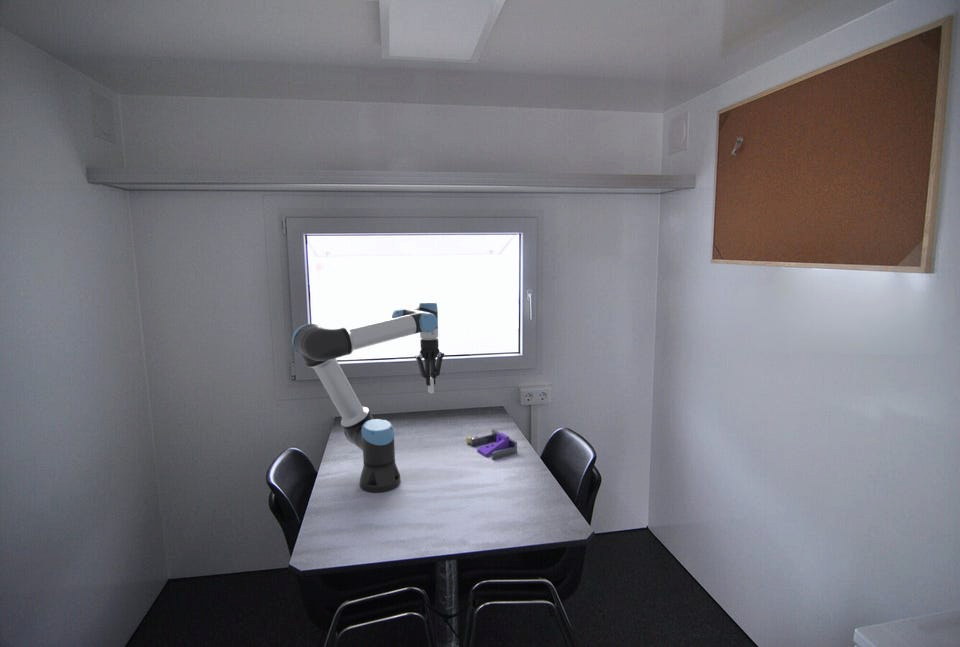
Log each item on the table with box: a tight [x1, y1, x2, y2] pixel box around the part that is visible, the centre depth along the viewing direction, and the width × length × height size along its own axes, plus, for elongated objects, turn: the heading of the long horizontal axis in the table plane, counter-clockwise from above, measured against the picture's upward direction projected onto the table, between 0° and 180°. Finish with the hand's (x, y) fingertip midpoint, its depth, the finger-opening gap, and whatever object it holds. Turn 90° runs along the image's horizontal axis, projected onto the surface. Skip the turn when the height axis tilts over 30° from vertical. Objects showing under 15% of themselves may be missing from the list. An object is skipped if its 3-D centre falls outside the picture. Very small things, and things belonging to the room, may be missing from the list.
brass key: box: [465, 435, 479, 445], centre depth 231 cm, size 6×3×3 cm, turn 142°
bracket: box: [476, 432, 510, 458], centre depth 221 cm, size 12×7×7 cm, turn 121°
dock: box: [470, 429, 518, 461], centre depth 223 cm, size 12×18×5 cm
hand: (431, 392), depth 218 cm, fingers closed
